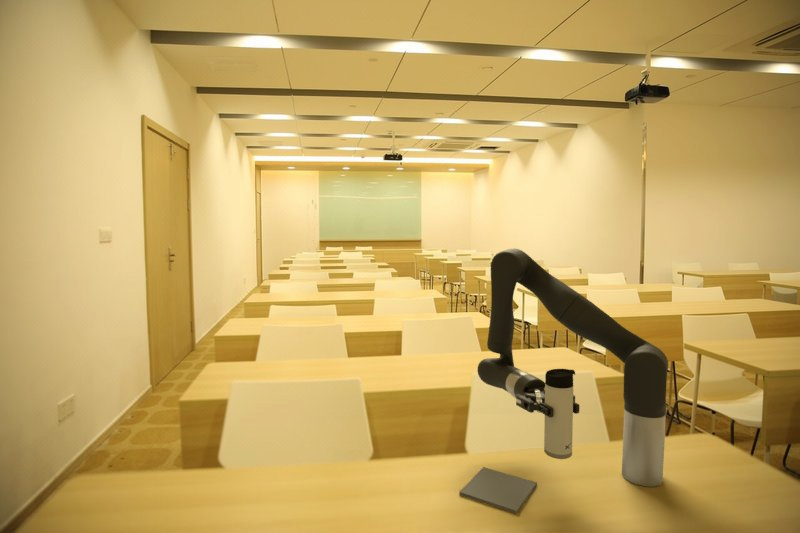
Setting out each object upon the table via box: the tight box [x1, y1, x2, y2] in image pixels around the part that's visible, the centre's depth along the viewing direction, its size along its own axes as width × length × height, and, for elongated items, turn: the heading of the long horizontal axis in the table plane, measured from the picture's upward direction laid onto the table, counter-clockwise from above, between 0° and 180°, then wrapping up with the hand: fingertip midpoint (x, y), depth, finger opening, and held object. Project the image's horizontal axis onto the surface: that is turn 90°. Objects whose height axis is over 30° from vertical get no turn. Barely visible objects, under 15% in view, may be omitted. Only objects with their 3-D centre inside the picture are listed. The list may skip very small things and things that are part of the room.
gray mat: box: [458, 466, 538, 515], centre depth 116 cm, size 14×14×1 cm
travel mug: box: [543, 368, 576, 460], centre depth 113 cm, size 6×7×20 cm
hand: (565, 411), depth 111 cm, fingers closed on travel mug, 6 cm apart
